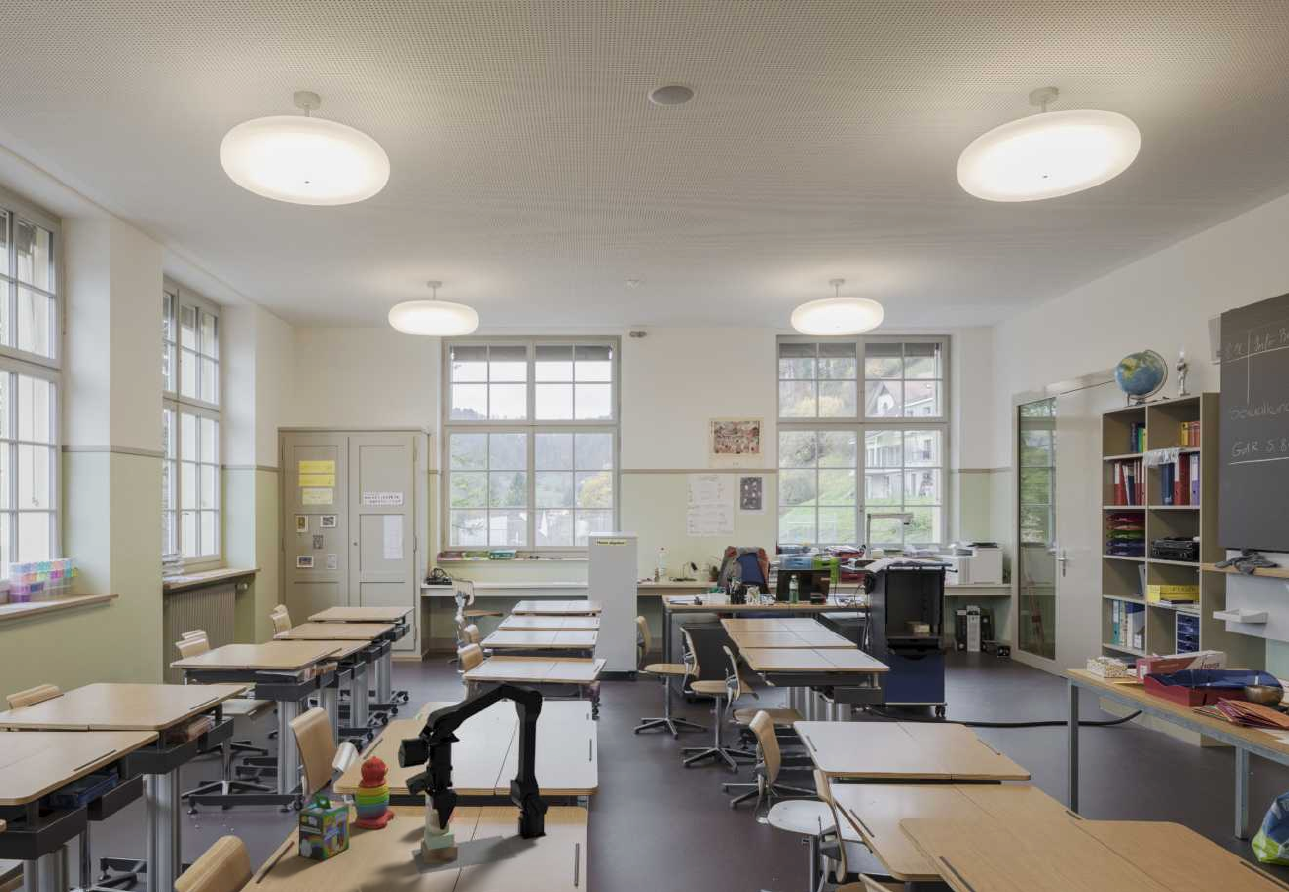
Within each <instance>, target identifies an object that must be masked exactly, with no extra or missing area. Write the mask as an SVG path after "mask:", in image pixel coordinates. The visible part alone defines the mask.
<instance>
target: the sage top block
mask: <svg viewBox="0 0 1289 892" xmlns="http://www.w3.org/2000/svg"><path fill="white" fill-rule="evenodd" d="M423 831H424V833H423V836H424V837H423V840H424V842H425V844H426V846H427V849H428V850H434V849H440V848H446V847H452V846H454V841H455V833H454V830H453V829H452V827H451V825H450V824H449V832H448V833H446V834H444V835H431V834H430V833H429V828H424V829H423Z"/></svg>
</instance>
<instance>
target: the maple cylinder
mask: <svg viewBox="0 0 1289 892" xmlns="http://www.w3.org/2000/svg"><path fill="white" fill-rule="evenodd" d="M449 825H450V823H449V821H448V823H447V825H446V827H445V829H444V830H440V826H439V819H438V813H437V810H436V809H434V810H431V811H430V814H429V833H430V834H431V835H444V834H446V833H448V832H449Z"/></svg>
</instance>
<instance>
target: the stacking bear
mask: <svg viewBox="0 0 1289 892" xmlns="http://www.w3.org/2000/svg"><path fill="white" fill-rule="evenodd" d="M360 768H361V769H360V774H361V777H362V779H361V780H360V781H359V783H358V785H357V787H356V793H355V796H354V806H355V807H354V808H355V811H356V812H355V813H356V815H357V816H356V817H355V823H354V824H355V825H356V826H357V827H359V828H362V829H363V828H364V829H369V830H370V829H371V830H372V829H374V830H376V829H377V830H378V829H379V830H380V829H383V828H386V827H387V826H388V821H389V819H390V820H392V819H394V817H395V816H396V815H395V812H394V810H391V809H388V806H389V802H390V792H389V785H388V783H387V779H386V778H385V776H386V775H387V773H388V771H389V768H388V765H387V764H386V763H385V762H384V761H383V760H382V759H381V758H379V757H376V756H375V755H374V756H372V757H371V758H368V759H366V760H365V761H364V762H363V763H362V765H361V767H360ZM391 818H392V819H391Z"/></svg>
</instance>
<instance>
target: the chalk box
mask: <svg viewBox="0 0 1289 892" xmlns="http://www.w3.org/2000/svg"><path fill="white" fill-rule="evenodd" d="M314 799H315V803H313V804H311V805H309V806H308V807H305V808H303V809H301V810H299V811H298V856H302V857H305V858H310V859H313V860H318V861H322V862H324V861H326V860H328V859H329V858H331V857H333V856H335V855H337V854H339V853H341V852H343V851H345V850H347V849H348V848H350V828H349V827H350V803H347V802H341V801H334V800H330V798H329V796H327V795H323V794H317V793H316V794H315V795H314Z"/></svg>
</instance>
